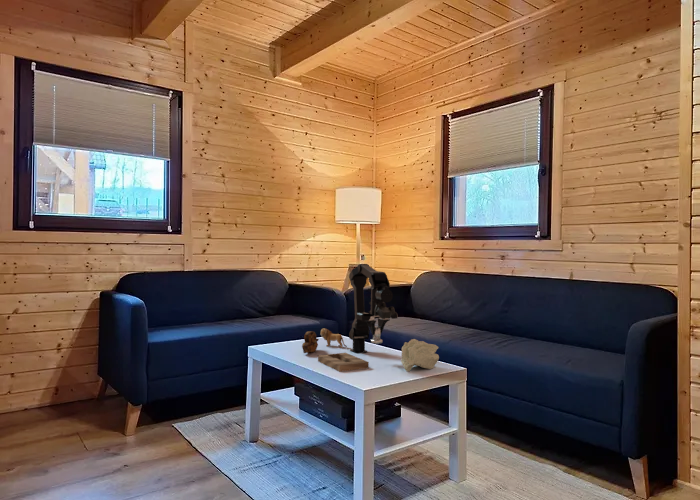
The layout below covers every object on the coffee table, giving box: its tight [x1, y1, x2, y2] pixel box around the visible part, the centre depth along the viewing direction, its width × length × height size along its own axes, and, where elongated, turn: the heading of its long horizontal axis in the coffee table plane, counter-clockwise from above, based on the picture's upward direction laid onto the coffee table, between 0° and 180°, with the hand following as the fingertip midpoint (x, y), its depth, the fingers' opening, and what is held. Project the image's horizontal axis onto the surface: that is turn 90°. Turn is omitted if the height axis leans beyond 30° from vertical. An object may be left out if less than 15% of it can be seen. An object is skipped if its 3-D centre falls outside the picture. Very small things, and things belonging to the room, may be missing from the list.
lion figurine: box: [319, 328, 348, 349], centre depth 248 cm, size 15×5×9 cm, turn 71°
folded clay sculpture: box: [400, 338, 440, 372], centre depth 206 cm, size 18×13×16 cm
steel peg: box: [370, 325, 383, 345], centre depth 216 cm, size 5×5×7 cm
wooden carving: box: [301, 330, 319, 354], centre depth 233 cm, size 16×5×10 cm, turn 168°
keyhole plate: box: [317, 352, 370, 373], centre depth 210 cm, size 20×14×3 cm
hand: (376, 334), depth 216 cm, fingers closed on steel peg, 3 cm apart
